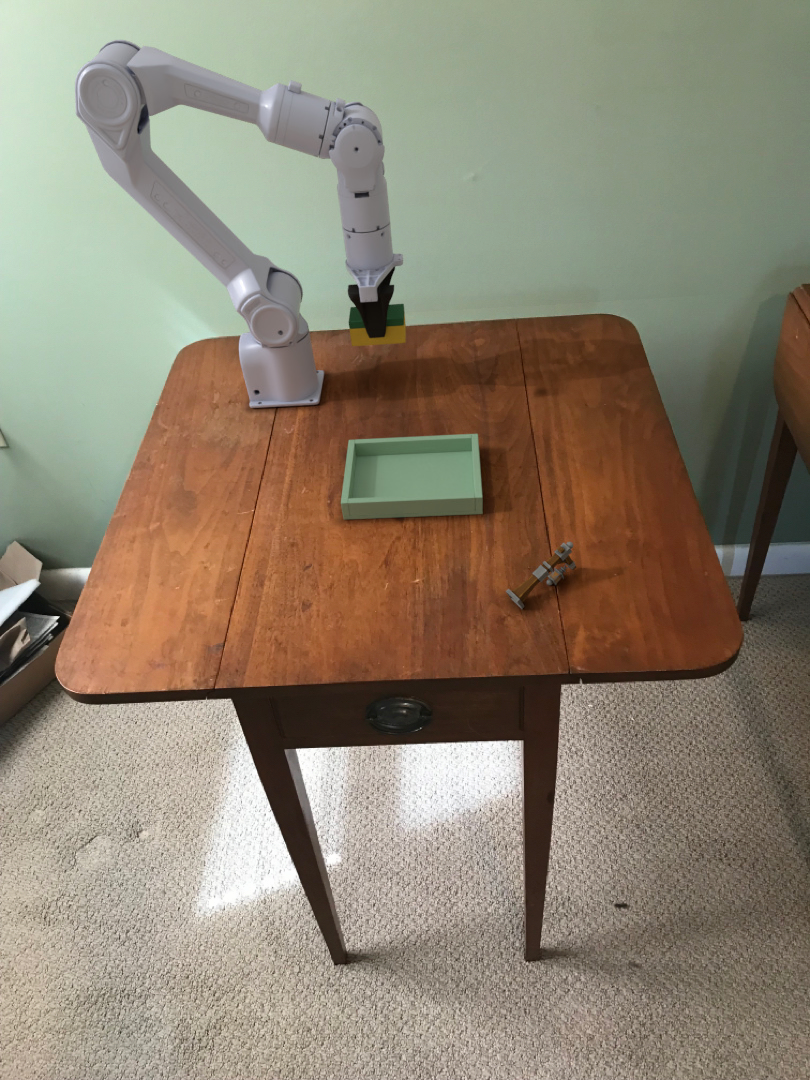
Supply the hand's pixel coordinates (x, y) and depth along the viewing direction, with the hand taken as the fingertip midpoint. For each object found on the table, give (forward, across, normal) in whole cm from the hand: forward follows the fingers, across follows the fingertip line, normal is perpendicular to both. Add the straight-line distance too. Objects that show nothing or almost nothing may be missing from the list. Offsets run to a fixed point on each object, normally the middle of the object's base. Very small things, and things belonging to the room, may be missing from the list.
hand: (377, 327), depth 100 cm
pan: (+8, -22, -4) cm, 24 cm away
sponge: (+1, 0, 0) cm, 1 cm away
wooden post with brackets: (+9, -39, -17) cm, 43 cm away
